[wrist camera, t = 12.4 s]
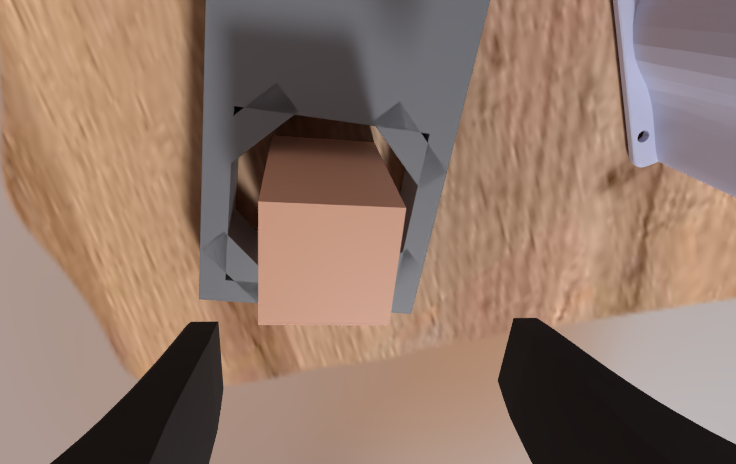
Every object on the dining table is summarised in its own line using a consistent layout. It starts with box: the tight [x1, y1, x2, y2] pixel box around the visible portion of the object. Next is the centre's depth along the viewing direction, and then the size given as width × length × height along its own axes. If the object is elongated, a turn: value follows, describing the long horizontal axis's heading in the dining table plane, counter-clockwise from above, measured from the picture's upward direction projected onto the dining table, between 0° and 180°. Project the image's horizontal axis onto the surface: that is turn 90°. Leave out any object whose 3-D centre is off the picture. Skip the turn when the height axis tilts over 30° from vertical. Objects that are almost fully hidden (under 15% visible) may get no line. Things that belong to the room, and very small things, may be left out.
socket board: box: [199, 0, 490, 314], centre depth 18 cm, size 16×9×2 cm, turn 170°
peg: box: [258, 135, 406, 326], centre depth 17 cm, size 4×4×7 cm
